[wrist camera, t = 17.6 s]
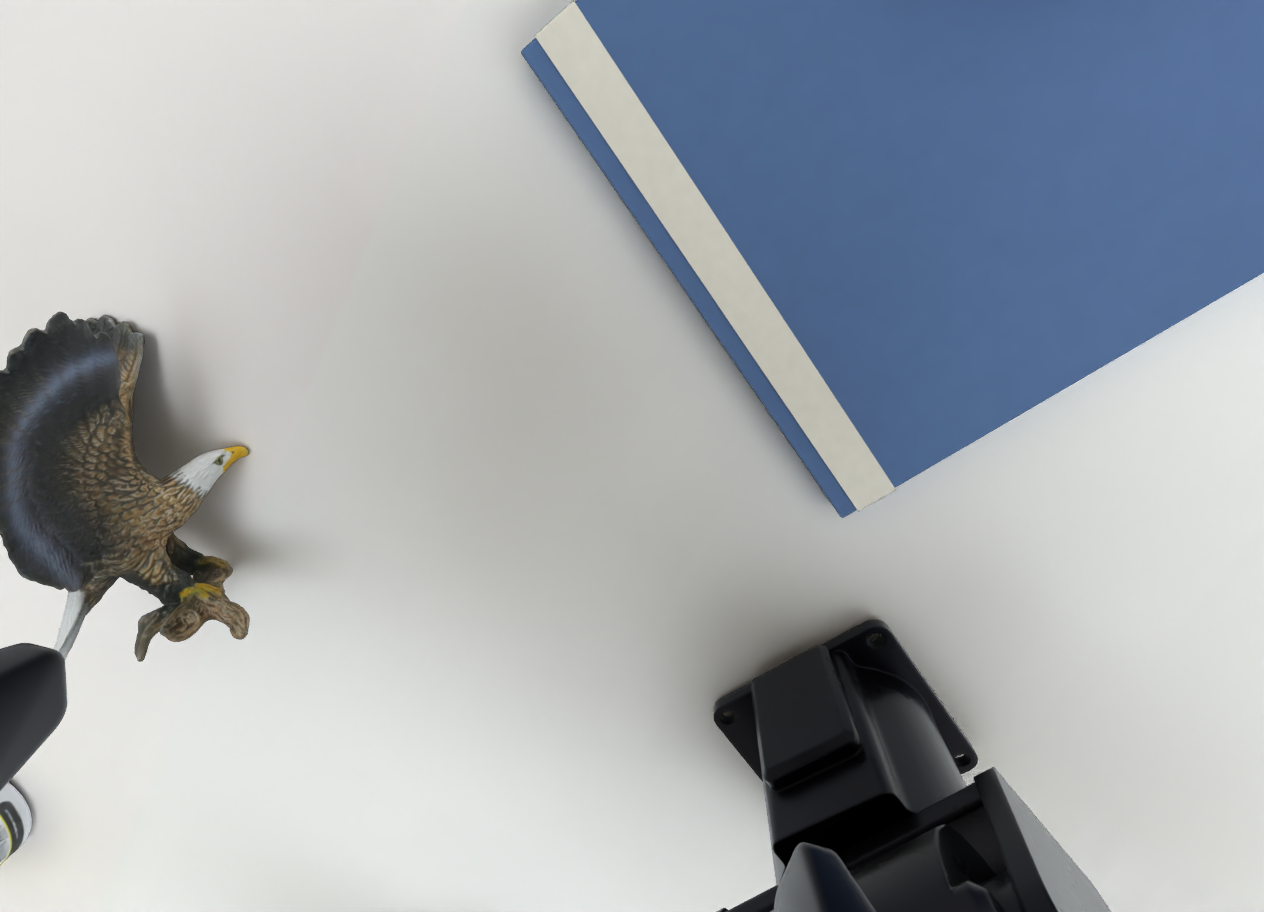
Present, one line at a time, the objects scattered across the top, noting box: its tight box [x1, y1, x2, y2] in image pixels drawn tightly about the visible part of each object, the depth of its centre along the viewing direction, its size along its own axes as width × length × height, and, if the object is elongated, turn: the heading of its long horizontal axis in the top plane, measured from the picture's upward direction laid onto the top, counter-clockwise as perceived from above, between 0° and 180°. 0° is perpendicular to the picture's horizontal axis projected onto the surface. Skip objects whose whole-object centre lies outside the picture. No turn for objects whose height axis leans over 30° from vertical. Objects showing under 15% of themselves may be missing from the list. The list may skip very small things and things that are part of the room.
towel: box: [521, 0, 1264, 518], centre depth 16 cm, size 15×17×1 cm
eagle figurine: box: [0, 312, 250, 662], centre depth 19 cm, size 8×7×9 cm
